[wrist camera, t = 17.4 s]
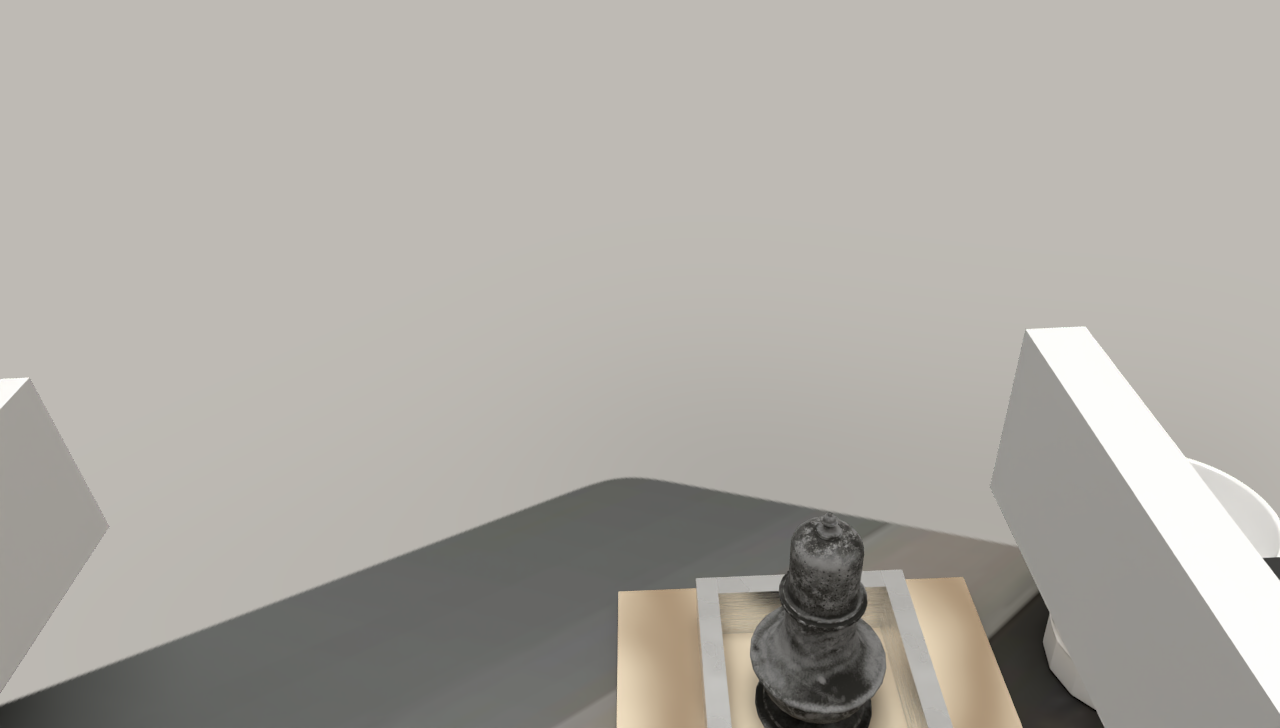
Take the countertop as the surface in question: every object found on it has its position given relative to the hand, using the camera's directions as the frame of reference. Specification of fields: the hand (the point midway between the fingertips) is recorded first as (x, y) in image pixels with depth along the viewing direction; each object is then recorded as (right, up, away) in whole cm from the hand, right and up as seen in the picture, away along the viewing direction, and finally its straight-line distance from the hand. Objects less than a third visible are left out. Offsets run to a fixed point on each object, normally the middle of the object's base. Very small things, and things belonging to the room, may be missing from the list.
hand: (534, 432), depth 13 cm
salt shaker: (+9, -15, +29) cm, 34 cm away
